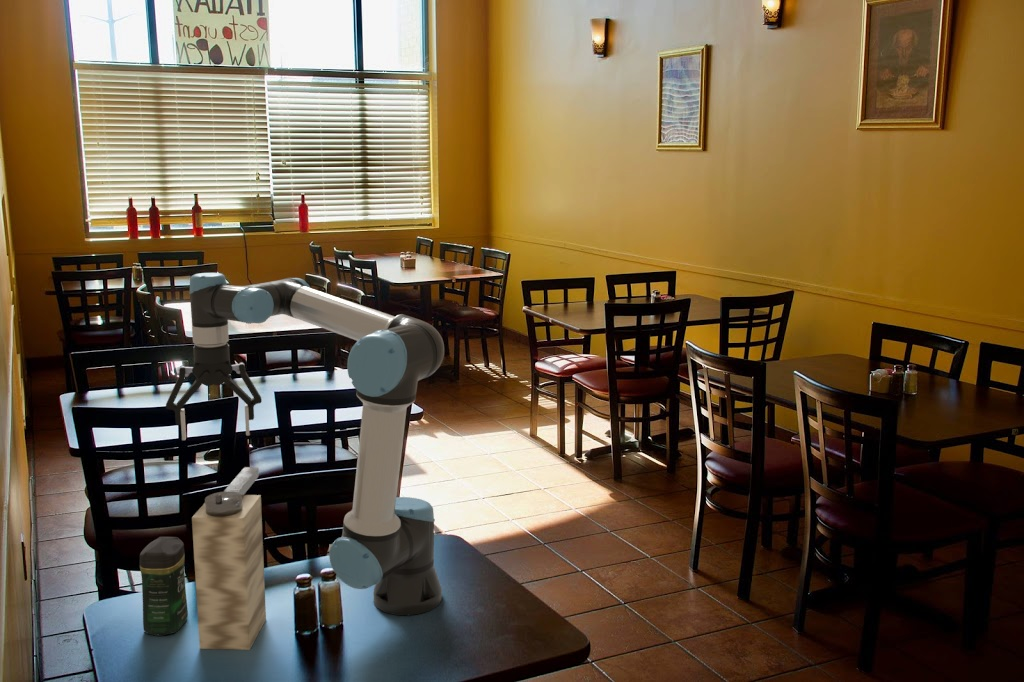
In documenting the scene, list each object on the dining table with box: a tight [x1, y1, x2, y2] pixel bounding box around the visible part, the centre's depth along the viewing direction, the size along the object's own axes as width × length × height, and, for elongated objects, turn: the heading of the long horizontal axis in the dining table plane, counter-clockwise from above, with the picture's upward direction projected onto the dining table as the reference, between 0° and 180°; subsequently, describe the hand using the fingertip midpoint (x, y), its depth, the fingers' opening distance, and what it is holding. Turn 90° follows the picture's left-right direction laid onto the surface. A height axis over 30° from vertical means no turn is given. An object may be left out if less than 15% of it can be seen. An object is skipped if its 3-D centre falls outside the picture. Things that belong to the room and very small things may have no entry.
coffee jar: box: [139, 536, 189, 636], centre depth 188 cm, size 10×8×19 cm
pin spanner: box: [204, 466, 260, 517], centre depth 187 cm, size 22×7×4 cm, turn 0°
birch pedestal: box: [191, 494, 267, 651], centre depth 184 cm, size 10×12×28 cm
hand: (216, 436), depth 204 cm, fingers open, 13 cm apart
